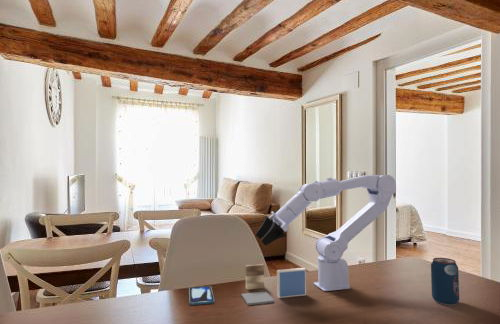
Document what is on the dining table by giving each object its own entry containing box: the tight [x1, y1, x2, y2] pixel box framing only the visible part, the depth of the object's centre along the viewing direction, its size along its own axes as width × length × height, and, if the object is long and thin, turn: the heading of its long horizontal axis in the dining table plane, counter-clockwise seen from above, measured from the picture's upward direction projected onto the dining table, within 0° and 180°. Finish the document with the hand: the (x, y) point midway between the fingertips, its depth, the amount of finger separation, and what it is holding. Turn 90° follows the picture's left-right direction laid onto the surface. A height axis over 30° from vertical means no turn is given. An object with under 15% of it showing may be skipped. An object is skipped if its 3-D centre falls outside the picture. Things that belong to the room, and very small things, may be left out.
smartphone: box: [188, 285, 215, 306], centre depth 104 cm, size 7×1×15 cm
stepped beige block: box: [244, 263, 265, 290], centre depth 111 cm, size 6×2×8 cm, turn 105°
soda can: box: [430, 257, 460, 306], centre depth 98 cm, size 7×7×12 cm
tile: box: [276, 267, 307, 299], centre depth 103 cm, size 9×2×8 cm, turn 105°
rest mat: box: [240, 291, 275, 306], centre depth 101 cm, size 8×8×1 cm
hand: (260, 239), depth 109 cm, fingers open, 7 cm apart
